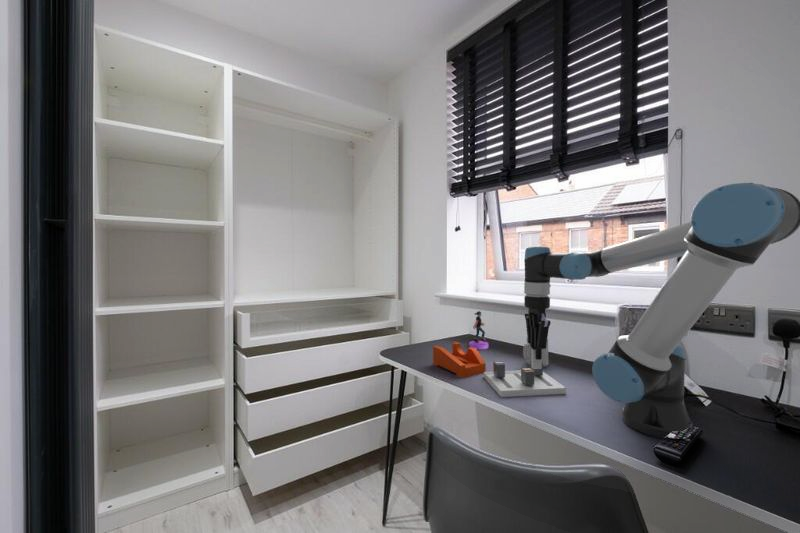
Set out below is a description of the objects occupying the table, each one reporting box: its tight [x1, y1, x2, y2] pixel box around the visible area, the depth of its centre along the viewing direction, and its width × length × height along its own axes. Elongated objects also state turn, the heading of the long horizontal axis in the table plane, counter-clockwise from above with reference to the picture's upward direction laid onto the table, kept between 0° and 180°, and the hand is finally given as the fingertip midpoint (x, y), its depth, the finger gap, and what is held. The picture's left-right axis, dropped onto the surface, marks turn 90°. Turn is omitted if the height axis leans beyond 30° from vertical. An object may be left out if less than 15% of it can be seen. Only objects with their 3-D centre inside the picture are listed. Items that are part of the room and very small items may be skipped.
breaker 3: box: [529, 360, 544, 376], centre depth 125 cm, size 4×3×5 cm
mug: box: [522, 337, 549, 368], centre depth 143 cm, size 12×8×11 cm
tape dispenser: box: [432, 341, 487, 379], centre depth 140 cm, size 18×13×8 cm
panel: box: [483, 369, 567, 398], centre depth 121 cm, size 18×22×2 cm
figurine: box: [468, 310, 489, 350], centre depth 171 cm, size 9×9×18 cm
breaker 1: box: [492, 361, 506, 378], centre depth 124 cm, size 4×3×5 cm
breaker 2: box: [520, 367, 534, 385], centre depth 116 cm, size 4×3×5 cm
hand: (536, 368), depth 109 cm, fingers closed
